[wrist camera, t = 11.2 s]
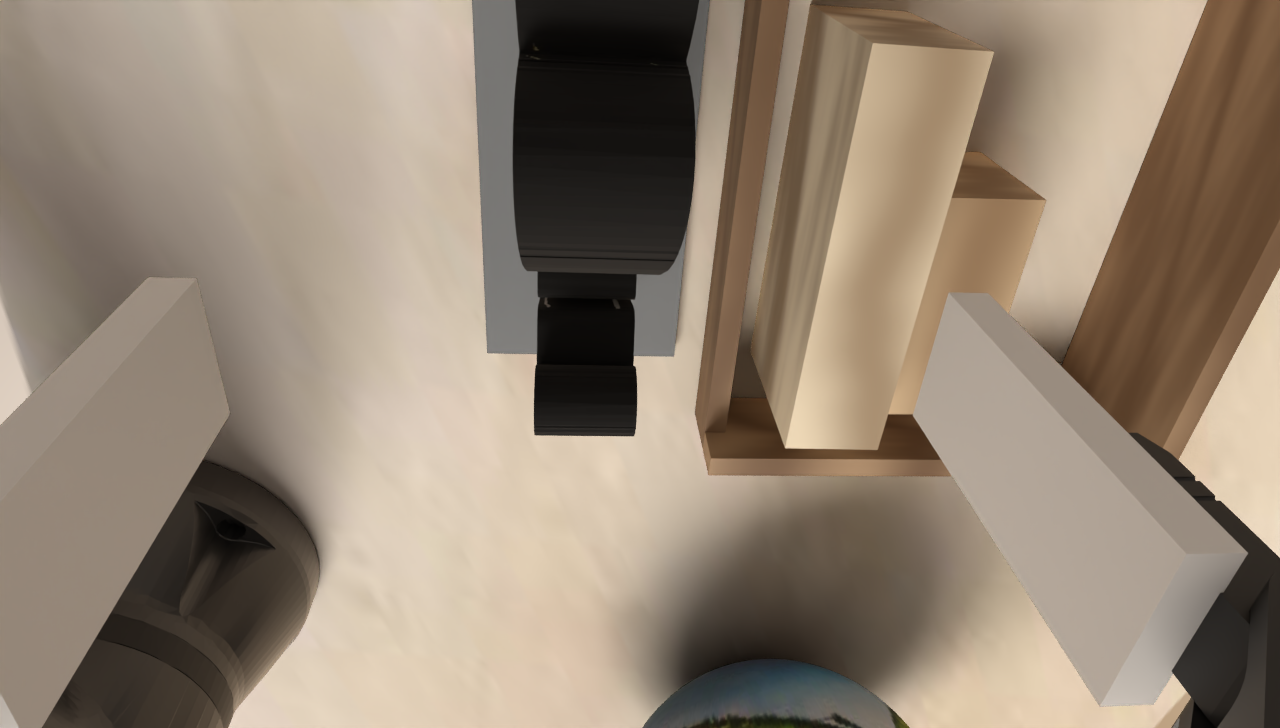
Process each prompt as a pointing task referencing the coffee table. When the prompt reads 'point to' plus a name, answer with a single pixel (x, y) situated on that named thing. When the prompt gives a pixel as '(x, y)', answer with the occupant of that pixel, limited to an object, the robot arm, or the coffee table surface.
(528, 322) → the felt mat
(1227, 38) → the tray
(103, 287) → the coffee table surface
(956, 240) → the offcut short
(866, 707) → the decorative sphere
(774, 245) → the block
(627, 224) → the sign
